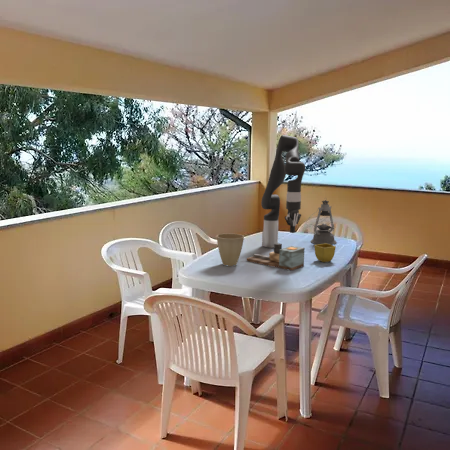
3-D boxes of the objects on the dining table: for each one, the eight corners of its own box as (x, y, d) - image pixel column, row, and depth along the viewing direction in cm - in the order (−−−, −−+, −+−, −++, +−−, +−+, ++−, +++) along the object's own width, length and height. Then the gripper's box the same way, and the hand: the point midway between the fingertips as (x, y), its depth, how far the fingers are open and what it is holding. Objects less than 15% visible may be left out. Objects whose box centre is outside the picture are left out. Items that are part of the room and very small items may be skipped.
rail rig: (246, 260, 260) (246, 243, 258) (259, 256, 269) (259, 240, 267) (291, 270, 241) (292, 252, 239) (303, 266, 250) (304, 248, 248)
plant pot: (238, 269, 243) (238, 239, 240) (212, 266, 248) (212, 237, 245) (247, 262, 257) (247, 234, 254) (222, 259, 262) (222, 232, 259)
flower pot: (323, 263, 255) (323, 247, 253) (313, 260, 262) (313, 244, 261) (335, 262, 259) (336, 246, 257) (325, 258, 266) (326, 243, 265)
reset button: (286, 253, 246) (286, 248, 246) (290, 252, 249) (291, 247, 249) (293, 255, 244) (293, 249, 243) (297, 253, 247) (297, 248, 246)
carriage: (269, 260, 253) (269, 243, 252) (275, 258, 258) (275, 242, 256) (279, 263, 249) (280, 245, 247) (285, 260, 253) (286, 243, 252)
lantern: (313, 237, 323) (315, 195, 318) (341, 241, 311) (343, 197, 306) (302, 242, 309) (303, 197, 303) (330, 246, 297) (332, 200, 292)
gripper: (294, 198, 249) (293, 230, 252) (280, 200, 239) (279, 233, 242) (306, 199, 244) (305, 231, 247) (292, 202, 234) (291, 235, 237)
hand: (292, 232), depth 244 cm, fingers closed
